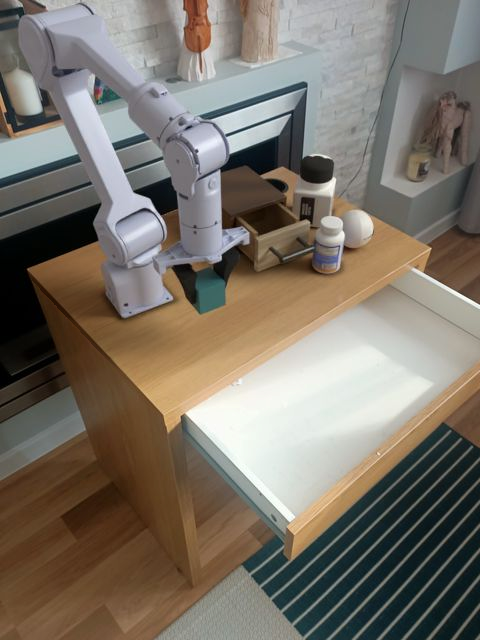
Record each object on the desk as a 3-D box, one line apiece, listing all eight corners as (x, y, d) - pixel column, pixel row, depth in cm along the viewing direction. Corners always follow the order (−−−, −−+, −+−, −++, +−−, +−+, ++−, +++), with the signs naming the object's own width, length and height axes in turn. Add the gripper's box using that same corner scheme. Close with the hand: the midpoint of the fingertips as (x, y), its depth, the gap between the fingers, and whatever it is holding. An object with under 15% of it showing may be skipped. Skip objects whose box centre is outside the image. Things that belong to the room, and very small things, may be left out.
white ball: (355, 260, 106) (361, 227, 101) (325, 244, 110) (329, 211, 105) (386, 240, 111) (393, 208, 106) (356, 225, 115) (362, 193, 110)
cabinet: (284, 234, 112) (286, 196, 106) (231, 253, 107) (230, 214, 101) (246, 202, 120) (246, 165, 114) (195, 218, 115) (192, 180, 109)
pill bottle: (321, 254, 108) (326, 209, 101) (345, 264, 105) (352, 219, 99) (306, 267, 104) (310, 222, 98) (330, 278, 102) (337, 233, 95)
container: (328, 229, 114) (335, 170, 104) (291, 224, 115) (295, 165, 105) (332, 210, 119) (339, 152, 110) (296, 205, 120) (301, 147, 111)
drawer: (322, 265, 104) (326, 234, 99) (272, 285, 99) (273, 254, 94) (268, 220, 114) (269, 190, 109) (220, 236, 110) (219, 205, 105)
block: (200, 315, 83) (198, 292, 80) (186, 298, 86) (183, 275, 82) (226, 305, 85) (225, 281, 82) (211, 289, 87) (210, 266, 84)
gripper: (164, 247, 69) (174, 327, 79) (261, 215, 75) (259, 293, 85) (141, 221, 73) (153, 299, 83) (234, 192, 79) (235, 269, 89)
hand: (205, 294), depth 84 cm, fingers closed on block, 4 cm apart
